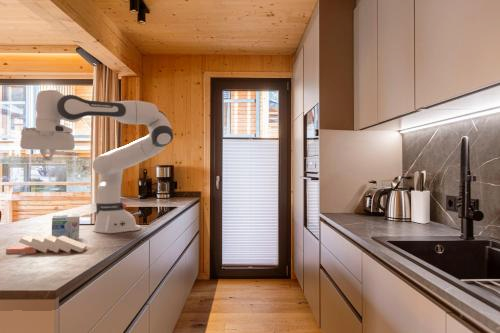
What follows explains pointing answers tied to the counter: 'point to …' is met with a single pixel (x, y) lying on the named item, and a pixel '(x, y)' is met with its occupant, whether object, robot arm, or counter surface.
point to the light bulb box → (65, 226)
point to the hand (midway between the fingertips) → (47, 160)
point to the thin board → (87, 251)
